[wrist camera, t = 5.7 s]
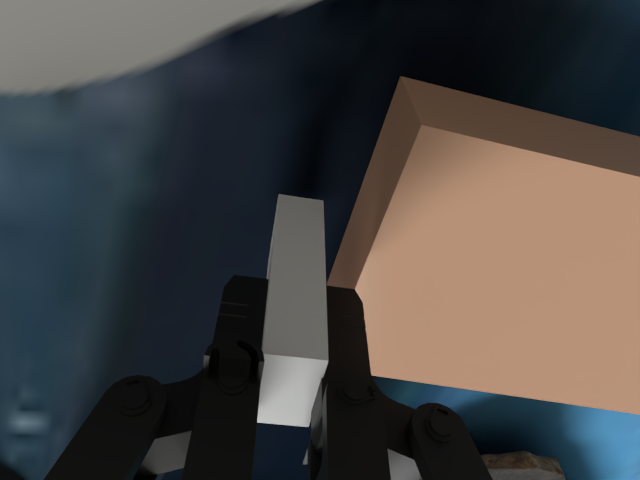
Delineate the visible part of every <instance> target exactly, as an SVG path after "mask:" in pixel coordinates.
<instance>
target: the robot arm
mask: <svg viewBox="0 0 640 480" xmlns="http://www.w3.org/2000/svg"><path fill="white" fill-rule="evenodd" d="M365 330H366V326H365V319H364V308H363V302H362V300H361V299H360V297H359V295H358V294H357V292H356V291H355V289H350V288H342V287H334V286H326V266H325V235H324V204H323V201H322V200H315V199H308V198H302V197H295V196H288V195H281V194H279V195H278V201H277V208H276V214H275V221H274V227H273V234H272V240H271V247H270V254H269V261H268V270H267V279H262V278H254V277H246V276H238V275H234V276H233V277H232V278H231V279H230V281H229V282H228V283H227V284H226V285H225V286H224V290H223V295H222V300H221V305H220V309H219V315H218V319H217V324H216V328H215V333H214V338H213V343H212V344H211V345H210V346H208V348H207V350H206V352H205V354H204V365H203V369H202V370H201V371H200V372H199V373H198V374H196V375H195V376H193V377H191V378H189V379H186V380H183V381H179V382H174V383H169V384H164V385H161V383H160V382H159V381H157V380H155V379H154V378H152V377H150V376H142V375H135V376H130V377H125V378H123V379H121V380H119V381H117V382H115V383H114V384H113V385H112V386H111V387H110V388H109V389H108V390H107V391H106V392H105V393H104V395H103V396H102V398H101V399H100V400H99V402H98V403H97V405H96V406H95V408H94V409H93V410H92V412H91V413H90V415H89V416H88V417H87V419H86V420H85V422H84V423H83V425H82V426H81V427H80V429H79V430H78V432H77V433H76V434H75V436H74V437H73V439H72V440H71V442H70V443H69V444H68V446H67V447H66V449H65V450H64V452H63V453H62V454H61V456H60V457H59V459H58V460H57V461H56V463H55V464H54V466H53V467H52V469H51V470H50V471H49V473H48V474H47V476H46V477H45V479H44V480H161V479H162V477H163V475H164V473H165V472H168V471H172V470H176V469H180V468H184V470H183V474H182V479H181V480H251V479H252V468H253V458H254V448H255V437H256V427H257V422H258V423H269V424H280V425H292V426H303V427H309V424H310V420H311V437H310V440H309V443H308V447H307V450H306V453H305V456H304V461H303V464H306V465H307V480H493V479H492V477H491V475H490V473H489V471H488V469H487V467H486V465H485V463H484V461H483V460H482V458H481V456H480V454H479V452H478V450H477V448H476V446H475V444H474V442H473V440H472V438H471V436H470V434H469V432H468V430H467V428H466V426H465V424H464V423H463V422H462V420H461V419H460V417H459V416H458V415H457V414H456V413H455V412H453V411H452V410H451V409H450V408H448V407H446V406H443V405H441V404H438V403H426V404H423V405H420V406H419V407H418V408H417V409H416V410H415V409H413V408H410V407H408V406H406V405H403V404H401V403H398V402H396V401H394V400H392V399H390V398H388V397H387V396H386V395H385V394H383V393H382V392H381V391H380V390H379V388H378V387H377V385H376V384H375V382H374V381H373V379H372V375H371V369H370V360H369V352H368V343H367V334H366V331H365ZM0 480H23V479H22V478H21V477H19V476H18V475H17V474H15V473H14V472H12V471H10V470H9V469H7V468H5V467H4V466H2V465H0Z"/></svg>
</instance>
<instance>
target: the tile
mask: <svg viewBox="0 0 640 480" xmlns="http://www.w3.org/2000/svg"><path fill="white" fill-rule="evenodd" d="M326 286H334V287H342V288H350V289H355V291H356V292H357V294H358V295H359V297H360V299H361V300H362V302H363V308H364V319H365V326H366V330H365V331H366V334H367V343H368V352H369V360H370V369H371V375H373V376H380V377H386V378H393V379H400V380H407V381H414V382H421V383H427V384H434V385H441V386H448V387H455V388H462V389H468V390H475V391H482V392H489V393H496V394H503V395H509V396H516V397H523V398H530V399H537V400H544V401H550V402H557V403H564V404H571V405H578V406H585V407H591V408H598V409H605V410H612V411H619V412H626V413H632V414H639V415H640V137H639V136H635V135H631V134H627V133H623V132H619V131H616V130H612V129H608V128H604V127H600V126H596V125H592V124H588V123H584V122H580V121H576V120H572V119H568V118H564V117H560V116H556V115H552V114H549V113H545V112H541V111H537V110H533V109H529V108H525V107H521V106H517V105H513V104H509V103H505V102H501V101H497V100H493V99H489V98H485V97H481V96H478V95H474V94H470V93H466V92H462V91H458V90H454V89H450V88H446V87H442V86H438V85H434V84H430V83H426V82H422V81H418V80H414V79H411V78H407V77H403V76H400V78H399V81H398V84H397V87H396V90H395V93H394V95H393V98H392V101H391V104H390V107H389V110H388V112H387V115H386V118H385V121H384V124H383V127H382V129H381V132H380V135H379V138H378V141H377V144H376V146H375V149H374V152H373V155H372V158H371V161H370V163H369V166H368V169H367V172H366V175H365V177H364V180H363V183H362V186H361V189H360V192H359V194H358V197H357V200H356V203H355V206H354V209H353V211H352V214H351V217H350V220H349V223H348V226H347V228H346V231H345V234H344V237H343V240H342V243H341V245H340V248H339V251H338V254H337V257H336V260H335V262H334V265H333V268H332V271H331V274H330V276H329V279H328V282H327V285H326Z"/></svg>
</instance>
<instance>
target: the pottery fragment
mask: <svg viewBox="0 0 640 480" xmlns="http://www.w3.org/2000/svg"><path fill="white" fill-rule="evenodd" d="M480 456H481V458H482V460H483V461H484V463H485V465H486V467H487V469H488V471H489V473H490V475H491V477H492V479H493V480H567V479H566V477H565V475H564V472H563V471H562V469H561V467H560V465H559V461H558V459H557V458H556V457H542V456H540V455H534V454H532V453H530V452H528V451H517V452H509V453H503V454H483V455H480Z"/></svg>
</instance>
